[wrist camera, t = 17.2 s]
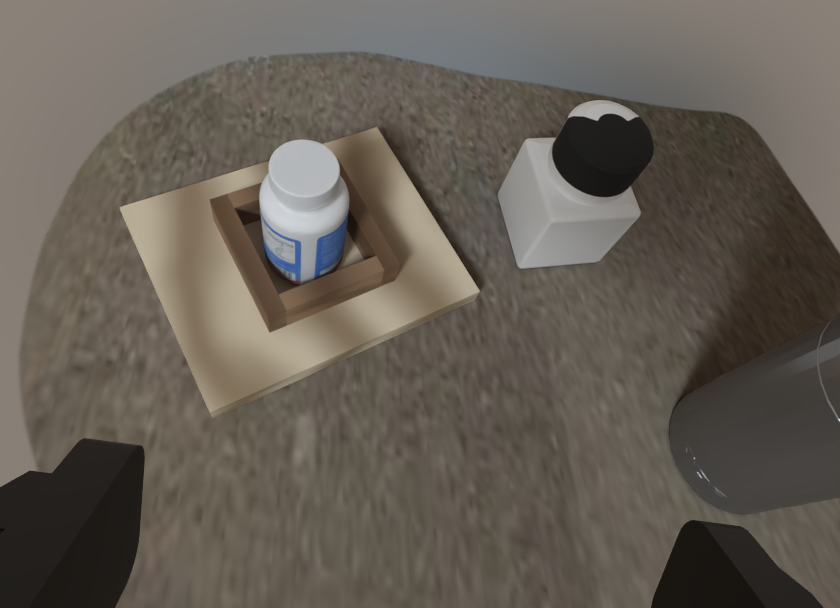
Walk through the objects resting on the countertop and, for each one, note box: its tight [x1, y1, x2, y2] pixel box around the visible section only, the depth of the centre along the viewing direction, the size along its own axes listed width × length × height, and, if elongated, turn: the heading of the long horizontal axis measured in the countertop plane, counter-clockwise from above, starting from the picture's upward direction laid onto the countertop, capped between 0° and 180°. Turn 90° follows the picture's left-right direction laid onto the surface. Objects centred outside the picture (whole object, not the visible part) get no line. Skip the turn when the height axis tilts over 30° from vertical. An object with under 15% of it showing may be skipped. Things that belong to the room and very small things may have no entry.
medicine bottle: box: [498, 100, 654, 269], centre depth 45 cm, size 7×7×12 cm
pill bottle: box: [259, 140, 349, 285], centre depth 39 cm, size 6×5×10 cm
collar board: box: [119, 127, 480, 419], centre depth 43 cm, size 20×16×4 cm
